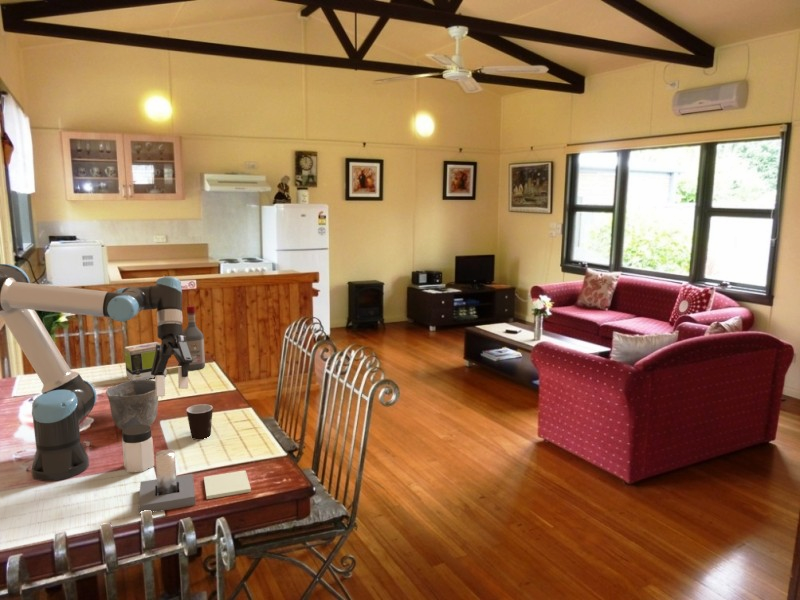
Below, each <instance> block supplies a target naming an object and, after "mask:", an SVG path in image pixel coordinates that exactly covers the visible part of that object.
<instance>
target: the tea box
mask: <svg viewBox="0 0 800 600" xmlns="http://www.w3.org/2000/svg"><path fill="white" fill-rule="evenodd" d="M157 344H159V345H161V343H160V342H158V341H154V342H147V343H146V342H145V343H141V344H134V345H128V346H124V347H123V350H124V353H123V354H124V362H125V364H124V365H125V373H126V377H127V378H128V379H129V381H132V380H146V379H147V380H150V379H149V378H152V379H155V378H154V377H155V376H154V375H151V371H152V366H153V361H154V357H155V352H156V345H157ZM160 372H161V371H160ZM164 375H165V377H167V376H166V375H168V374H167V367H166V368H165V370H164Z"/></svg>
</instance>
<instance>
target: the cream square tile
mask: <svg viewBox="0 0 800 600" xmlns="http://www.w3.org/2000/svg"><path fill="white" fill-rule="evenodd" d="M203 482H204V488H205V489H204V491H205V496H206V500H211V499H216V498H222V497H229V496H235V495H241V494H246V493H251V492H252V488H251V485H250V481H249V477H248V474H247V471H246V470H244V469H243V470H239V471H231V472H226V473H220V474H212V475H207V476H203Z"/></svg>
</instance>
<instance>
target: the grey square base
mask: <svg viewBox="0 0 800 600" xmlns="http://www.w3.org/2000/svg"><path fill="white" fill-rule="evenodd" d="M176 481H177V493H171V494H165V495H159V496H158V495H157V494H156V493H158V490H157V478H156V479H150V480H145V481H144V480H143V481H140V484H139V485H140V486H139V500H138V501H139V502H138V514H139V513H140V512H141V511H144V510H151V511H152V513H156V512H155V511H157V512H162V511H161V510H163V511H169V510H174V509H180V508H186V507H192V506H196V491H195V482H194V474H193V473H188V474H183V475H176ZM178 491H179V492H178ZM153 511H154V512H153Z"/></svg>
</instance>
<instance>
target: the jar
mask: <svg viewBox="0 0 800 600" xmlns="http://www.w3.org/2000/svg"><path fill="white" fill-rule="evenodd" d="M121 435H122V438H121V443H122V444H121V445H122V454H123V455H122V457H123V458H122V459H123V468H124V469H125V472H127V473H142V471H143V472H144V470H145V471H147V470H149V469H151V468H152V467H154V466H155V453H154V444H153V443H154V442H153V441H154V440H153V437H152V427H151V425H150V426H147V425H136V426H131V427H128V428H126V429H124V430H122V431H121ZM148 468H149V469H148ZM146 469H147V470H146Z"/></svg>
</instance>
